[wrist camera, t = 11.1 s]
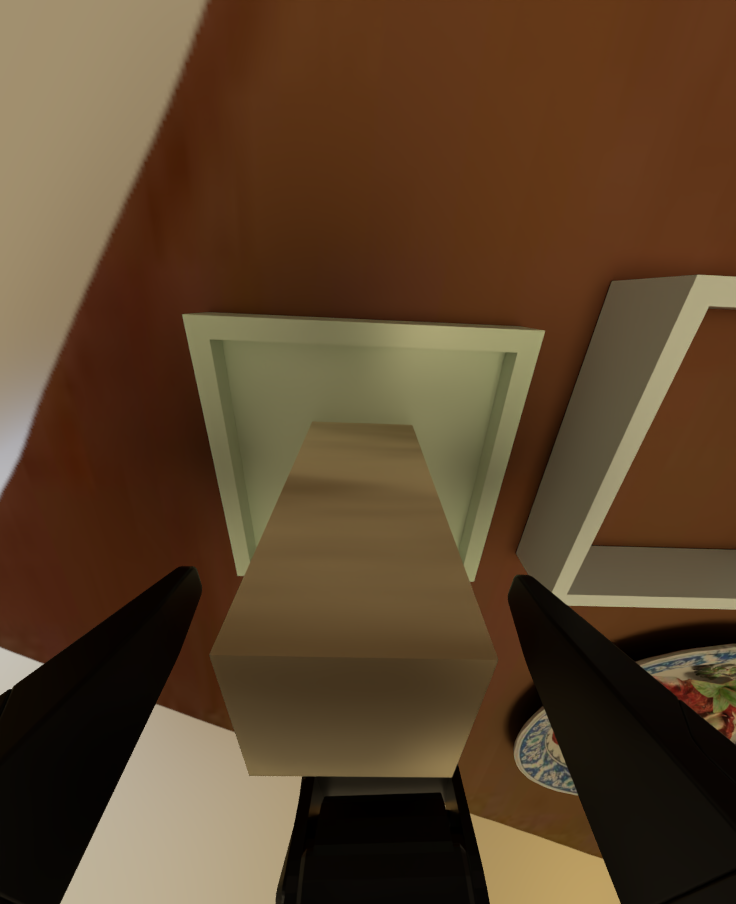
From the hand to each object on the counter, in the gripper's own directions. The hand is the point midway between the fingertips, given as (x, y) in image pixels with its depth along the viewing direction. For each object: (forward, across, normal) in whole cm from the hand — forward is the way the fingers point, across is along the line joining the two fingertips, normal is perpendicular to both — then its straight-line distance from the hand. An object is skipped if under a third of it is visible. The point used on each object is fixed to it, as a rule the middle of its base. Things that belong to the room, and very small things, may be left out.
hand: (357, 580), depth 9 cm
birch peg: (+7, 0, 0) cm, 7 cm away
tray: (+8, 0, 0) cm, 8 cm away
